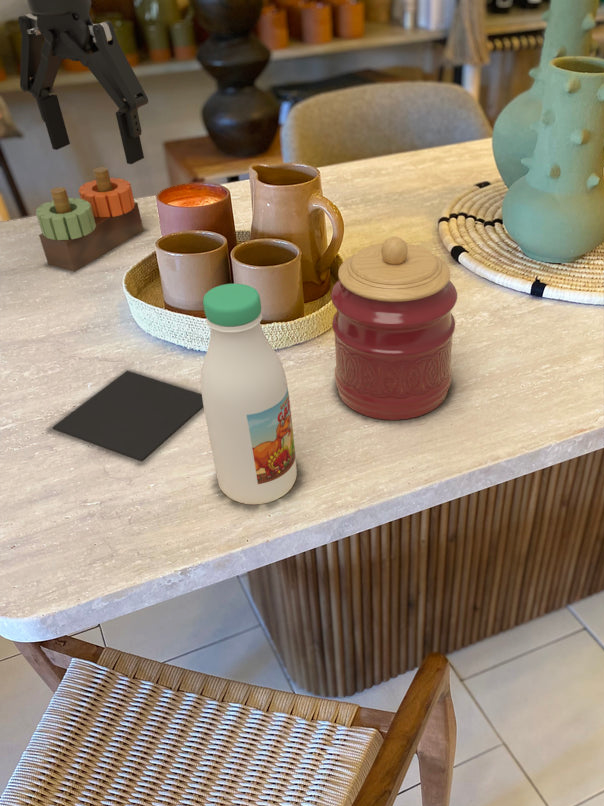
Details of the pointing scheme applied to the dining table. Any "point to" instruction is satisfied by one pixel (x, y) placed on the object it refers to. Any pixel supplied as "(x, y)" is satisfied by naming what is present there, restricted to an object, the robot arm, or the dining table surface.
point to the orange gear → (108, 198)
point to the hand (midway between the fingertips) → (97, 153)
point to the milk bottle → (246, 400)
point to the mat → (132, 415)
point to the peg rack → (98, 241)
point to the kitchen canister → (393, 330)
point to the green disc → (66, 220)
